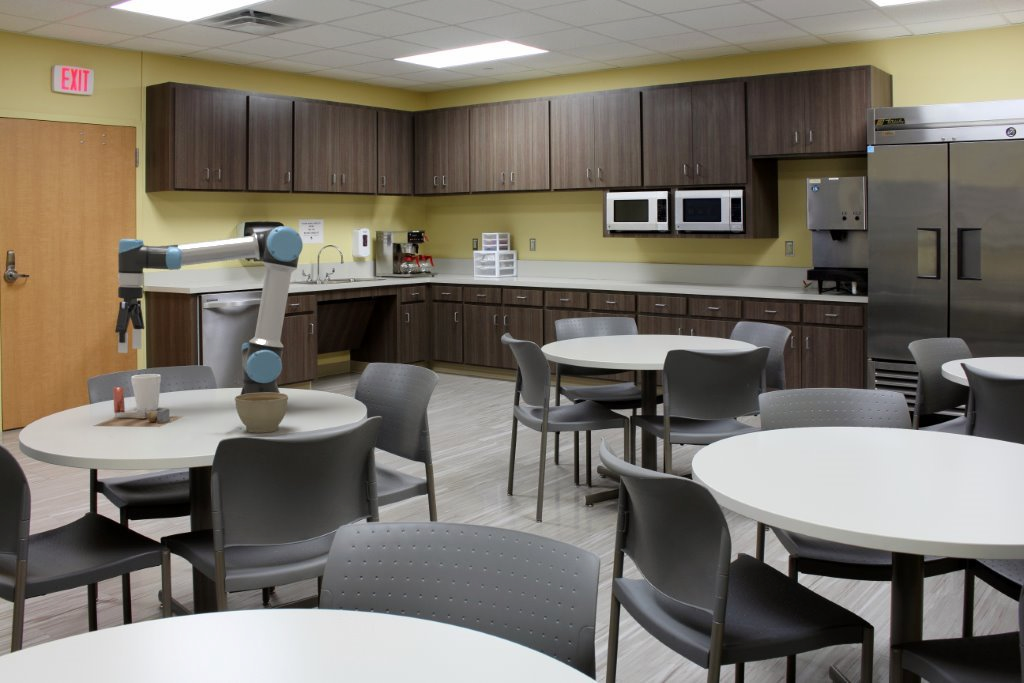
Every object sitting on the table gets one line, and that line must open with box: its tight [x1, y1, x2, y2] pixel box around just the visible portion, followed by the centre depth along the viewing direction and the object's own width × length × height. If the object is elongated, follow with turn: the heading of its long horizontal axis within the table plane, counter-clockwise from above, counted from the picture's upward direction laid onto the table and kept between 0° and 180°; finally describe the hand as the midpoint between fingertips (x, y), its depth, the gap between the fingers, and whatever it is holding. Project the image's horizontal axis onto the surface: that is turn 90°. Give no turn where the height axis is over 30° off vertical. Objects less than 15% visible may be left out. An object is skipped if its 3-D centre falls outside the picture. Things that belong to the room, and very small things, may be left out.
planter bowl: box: [234, 392, 289, 434], centre depth 297 cm, size 16×16×11 cm
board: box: [93, 407, 183, 428], centre depth 306 cm, size 22×17×5 cm
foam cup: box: [130, 373, 162, 411], centre depth 328 cm, size 10×9×13 cm
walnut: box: [147, 410, 157, 422], centre depth 304 cm, size 4×4×4 cm
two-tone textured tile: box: [156, 408, 171, 424], centre depth 303 cm, size 2×4×4 cm, turn 174°
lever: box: [112, 386, 157, 418], centre depth 310 cm, size 18×5×10 cm, turn 84°
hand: (130, 350), depth 312 cm, fingers open, 13 cm apart
